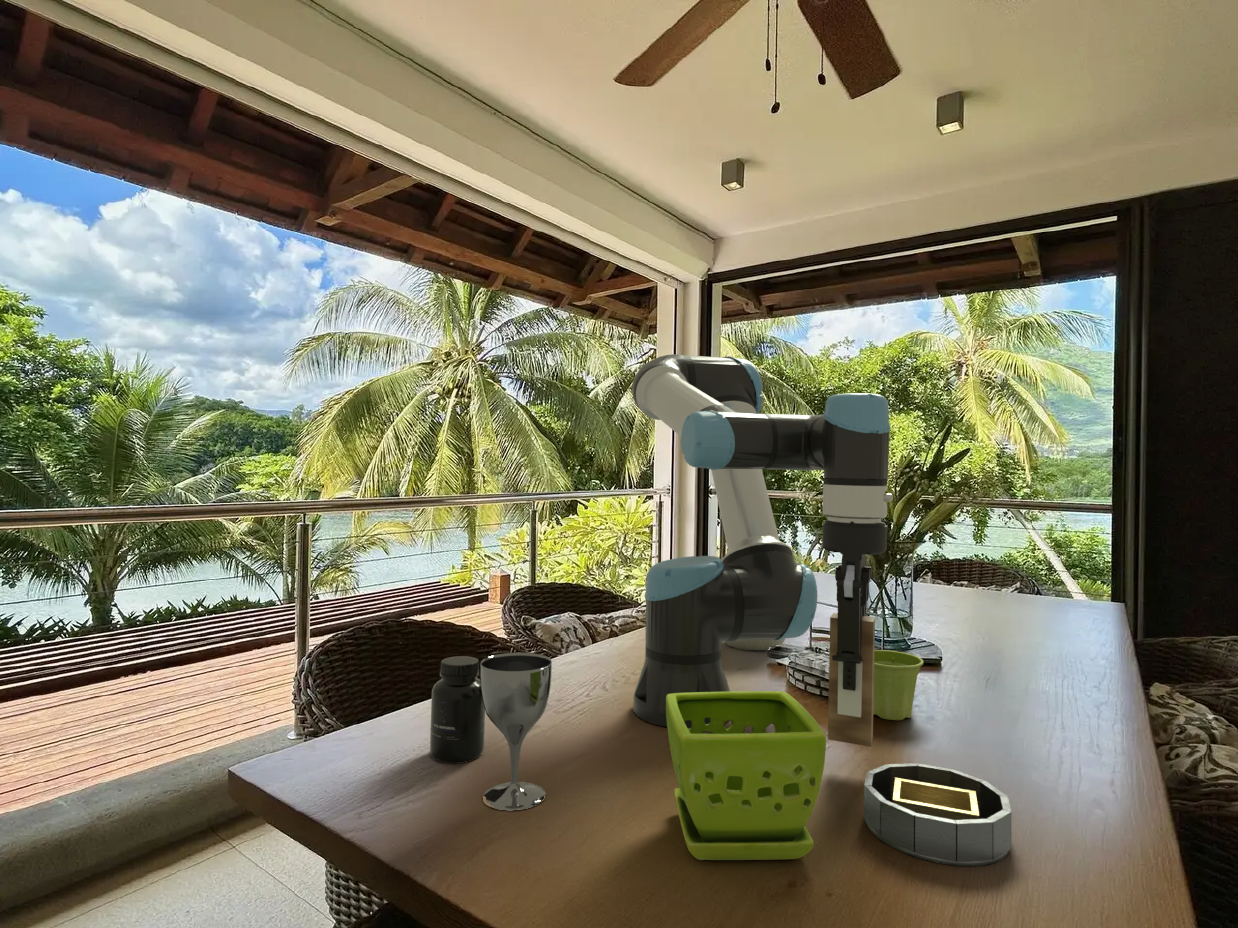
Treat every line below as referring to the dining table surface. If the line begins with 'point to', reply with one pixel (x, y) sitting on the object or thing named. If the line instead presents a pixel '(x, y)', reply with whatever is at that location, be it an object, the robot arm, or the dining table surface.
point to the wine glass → (515, 716)
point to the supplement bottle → (457, 712)
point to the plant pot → (894, 683)
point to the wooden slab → (862, 727)
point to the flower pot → (745, 773)
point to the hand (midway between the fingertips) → (850, 709)
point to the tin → (937, 814)
